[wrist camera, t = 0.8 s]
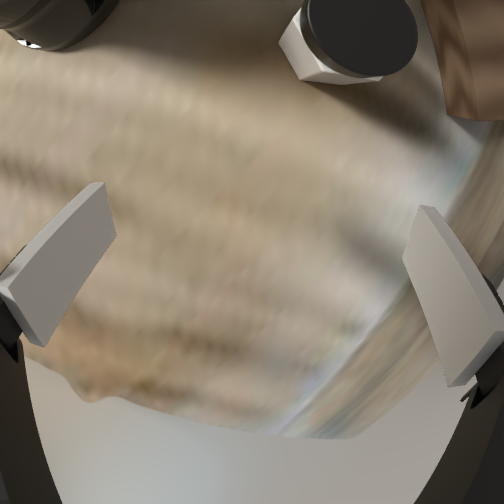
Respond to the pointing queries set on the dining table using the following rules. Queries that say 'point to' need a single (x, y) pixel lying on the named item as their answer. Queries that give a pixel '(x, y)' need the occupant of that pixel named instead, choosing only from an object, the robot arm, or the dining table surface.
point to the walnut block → (469, 55)
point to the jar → (350, 40)
